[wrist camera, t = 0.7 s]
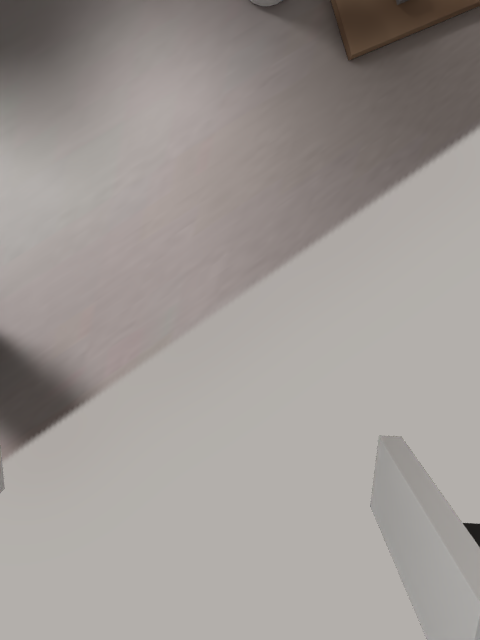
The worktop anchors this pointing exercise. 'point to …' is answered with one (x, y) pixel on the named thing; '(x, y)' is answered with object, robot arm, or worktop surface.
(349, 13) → the board
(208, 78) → the worktop surface
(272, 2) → the beverage can
